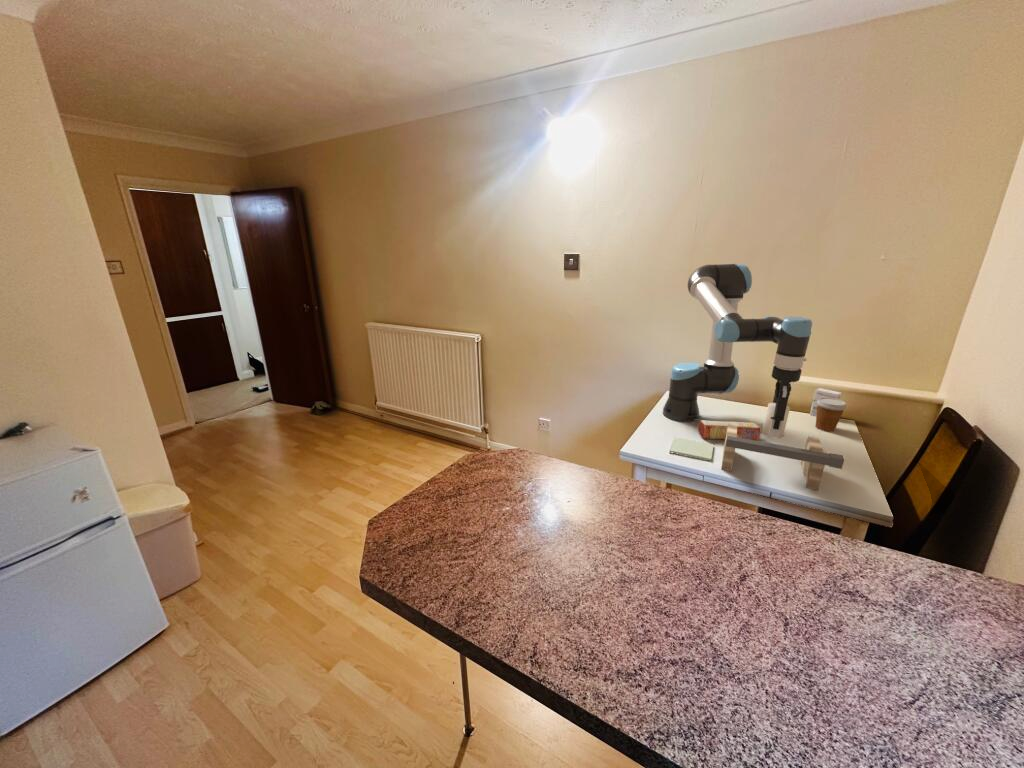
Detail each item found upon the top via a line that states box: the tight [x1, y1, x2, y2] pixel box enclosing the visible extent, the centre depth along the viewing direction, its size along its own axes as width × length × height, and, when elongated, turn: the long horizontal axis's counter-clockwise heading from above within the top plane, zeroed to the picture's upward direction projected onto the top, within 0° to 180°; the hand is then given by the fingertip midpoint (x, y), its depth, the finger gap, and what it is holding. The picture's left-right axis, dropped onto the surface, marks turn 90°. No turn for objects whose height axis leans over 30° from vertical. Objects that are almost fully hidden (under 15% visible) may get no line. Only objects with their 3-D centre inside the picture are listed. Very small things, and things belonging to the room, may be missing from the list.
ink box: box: [809, 387, 843, 417], centre depth 173 cm, size 9×5×12 cm, turn 38°
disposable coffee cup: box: [815, 397, 847, 432], centre depth 162 cm, size 10×10×12 cm
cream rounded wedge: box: [762, 402, 791, 439], centre depth 133 cm, size 6×6×10 cm
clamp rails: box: [721, 423, 826, 491], centre depth 136 cm, size 16×27×11 cm, turn 61°
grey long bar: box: [726, 436, 845, 470], centre depth 123 cm, size 3×30×3 cm, turn 61°
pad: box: [669, 436, 715, 462], centre depth 150 cm, size 12×14×1 cm
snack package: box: [698, 419, 761, 441], centre depth 158 cm, size 21×7×7 cm, turn 82°
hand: (773, 432), depth 134 cm, fingers closed on cream rounded wedge, 6 cm apart
